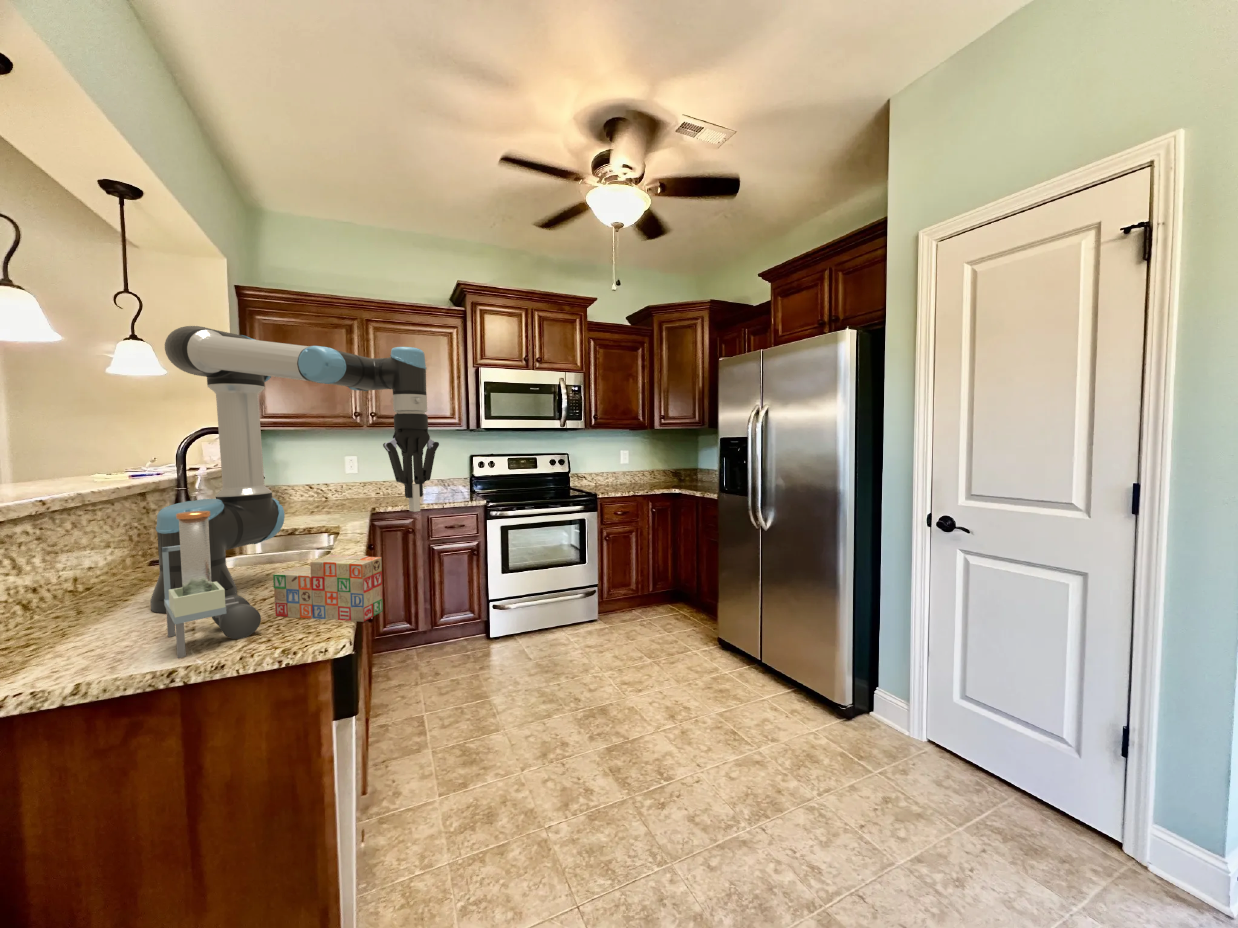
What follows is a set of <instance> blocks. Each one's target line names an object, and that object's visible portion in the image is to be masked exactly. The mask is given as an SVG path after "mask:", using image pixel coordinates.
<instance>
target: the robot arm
mask: <svg viewBox="0 0 1238 928" xmlns="http://www.w3.org/2000/svg"><path fill="white" fill-rule="evenodd" d="M164 351H165V352H164V353H165V354H166V356H167V359H168V360H169V362H170V363H172V365H174V366H175V367H176V368H178V369H179V370H180V371H183V372H184V373H187V374H190V375H194V376H199V377H206V384H207V388H209V390H212V392H214V394H215V399H216V413H217V427H218V428H217V429H218V441H219V454H220V456H219V457H220V470H221V480H222V481H221V482H222V488H221V490H219V491H218V492H217V493H216V494H215V498H203V499H201V498H200V499H196V500H187V501H182V502H178V503H174V504H171V505H167V506H165V507H163V508H161V509H160V510H159V512H157V515H156V527H155V531H156V534H157V545H158V547H157V549H158V551H157V552H158V563H159V564H158V565H159V566H158V567H159V575H158V578H157V581H156V583H155V587H154V590H153V592H152V595H151V598H150V611H152V612H154V613H164V614H165V613H166V607H165V605H164V599H165V593H164V575H163V558H162V548H163V547H171V546H178V545H180V533H179V519H176V514H178V513H183V512H192V511H210V516H209V517H208V521H209V541H210V561H211V582H216V581H217V582H218V583H219V584H220V585H221V586H222V587H223V588H224V589H225V597H226V596H231V595H237V596H238V591H237V585H236V583H235V580H234V577H233V576H232V574H231V572H230V571H229V568H228V566H227V560H226V559H227V558H226V551H228V550H232V549H235V548H236V549H237V548H240V547H244V546H250V545H258V544H260V543H262V542H265V541H268V540H270V539H273V538H275V536H277V534H278V533H279V532H280V531H281V529H282V528H283V525H284V524H285V523H284V522H285V517H286V515H285V510H284V507H283V505H282V504H280V501H279V500H278V499H277V498H274V497H273V491H272V490H271V489H269V488H268V487H267V486H266V485H265V475H264V462H263V461H264V460H263V448H262V447H263V444H262V434H261V433H262V432H261V430H262V429H261V416H260V415H261V414H260V403H259V402H260V401H259V394H260V393H262V391H264V390H265V387H266V385H265V383H266V382H268V381H269V380H270V379H271V378H272V377H274V378H283V379H289V380H297V381H300V380H301V381H306V382H312V383H317V384H325V385H333V386H336V385H337V386H341V387H343V386H344V387H348V388H349V389H350V390H353V391H360V392H361V391H362V392H369V391H378V390H379V391H380V390H381V391H382V390H392V407H393V412H394V415H393V427H394V428H393V430H394V433H393V435H392V439H390V440H389V441H387V442H384V443H383V444H382V447H383V448H384V449H385V451H386V452H387V454H388V458H389V462H390V464H391V468H392V471H393V476H394V477H395V481H396V482H397V483H401V484H403V486H404V497H405V498H406V499H408V512H411V513H412V512H414V513H415V512H421V498H422V497H423V495H424V488H423V485H424V484H425V482H428V481H430V480H431V477H432V471H433V468H434V467H433V465H434V459H435V456H436V452H437V449H438V447H440V442H439V441H434V440H433V439H431V435H430V434H429V431H428V430H429V419H428V418H429V416H428V415H427V412H428V396H427V395H428V394H427V363H426V356H425V352H424V350H422V349H421V348H417V347H413V346H412V347H411V346H396V347H392V348H391V351H390V357H389V356H388V357H382V358H381V357H379V358H377V357H375V358H372V357H367V356H361V355H357V354H354V353H350V352H345V351H342V350H338V349H334V348H331V347H327V346H320V345H310V346H309V345H308V346H307V345H300V344H292V343H284V342H283V343H282V342H276V341H267V340H258V339H255V338H251V337H248V336H247V335H243V334H236V333H231V332H227V331H226V332H225V331H223V330H217V329H213V328H208V327H205V326H198V325H196V326H195V325H185V326H182V327H178V328H176V329H174V330H173V331H171V332H170V333H169V334H168V335H167V337H166V339H165V342H164ZM425 447H426V451H425V455H424V448H425ZM397 448H399V449H400V453H401V457H402V462H401V459H400V456H399V452H398V450H397ZM423 456H424V461H423ZM168 555H169V572H170V589H176V588H182V571H181V552H180V550H177V551H169V552H168Z"/></svg>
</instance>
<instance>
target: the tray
mask: <svg viewBox="0 0 1238 928" xmlns="http://www.w3.org/2000/svg"><path fill="white" fill-rule="evenodd" d="M169 606H170V609H171V611H172V613H173V615H174V617H175V618H176V617H180V616H185V615H190V614H195V613H200V612H204V611H209V610H214V609H219V608H224V607H225V589H224V588H223V587H222V586H221V585H220V584H219V583H218V582H217V581H216V582H212V591H208V592H203V593H197V594H192V595H187V596H183V589H182V588H176V589H170V590H169Z"/></svg>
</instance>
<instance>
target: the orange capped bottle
mask: <svg viewBox="0 0 1238 928" xmlns="http://www.w3.org/2000/svg"><path fill="white" fill-rule="evenodd" d="M209 516H210V511H192V512H183V513H178V514H176V519H179V533H180V552H181V571H182V589H183V596H187V595H192V594H197V593H203V592H208V591H212V582H211V561H210V541H209V521H208V517H209Z"/></svg>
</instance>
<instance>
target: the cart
mask: <svg viewBox="0 0 1238 928" xmlns="http://www.w3.org/2000/svg"><path fill="white" fill-rule="evenodd" d="M177 550H180V545H178V546H171V547H163V548H162V558H163V575H164V593H165V599H164V605H165V607H166V630H167V637H168V638H170V637H175V640H176V641H175V642H176V657H177V659H180V658H184V657H186V656H187V653H186V639H185V638H186V637H185V636H186V635H185V634H186V633H185V623H187V622H194V621H198V620H202V619H208V618H211V619H212V620H213V622H214V623H215V625H217V626H219V629H220V631H221V632H222V633H223V635H224V636H225V637H227V638H229V639H234V640H240V639H243V638H248V637H249V636H251V635H252V634H254V633H255V632H256V631H257V630H258V628H259V627H260V624H261V620H262V616H261V613H260V612H259V610H257V609H256V607H254V606H253V605H251V604H250V602H249V601H248V600H246V598H244V596H240V595H238V594H237V595H231V596H226V597H225V607H224V608H219V609H214V610H209V611H204V612H200V613H195V614H190V615H185V616H180V617H176V618H175V617H174V615H173V613H172V611H171V609H170V606H169V590H170V572H169V555H168V552H169V551H177Z"/></svg>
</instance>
